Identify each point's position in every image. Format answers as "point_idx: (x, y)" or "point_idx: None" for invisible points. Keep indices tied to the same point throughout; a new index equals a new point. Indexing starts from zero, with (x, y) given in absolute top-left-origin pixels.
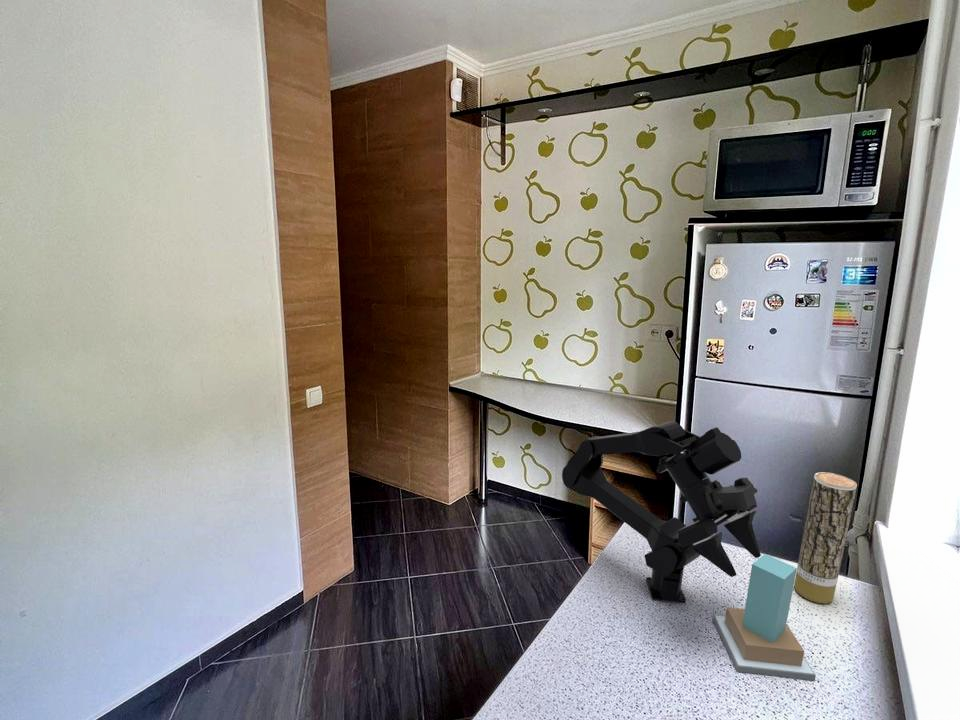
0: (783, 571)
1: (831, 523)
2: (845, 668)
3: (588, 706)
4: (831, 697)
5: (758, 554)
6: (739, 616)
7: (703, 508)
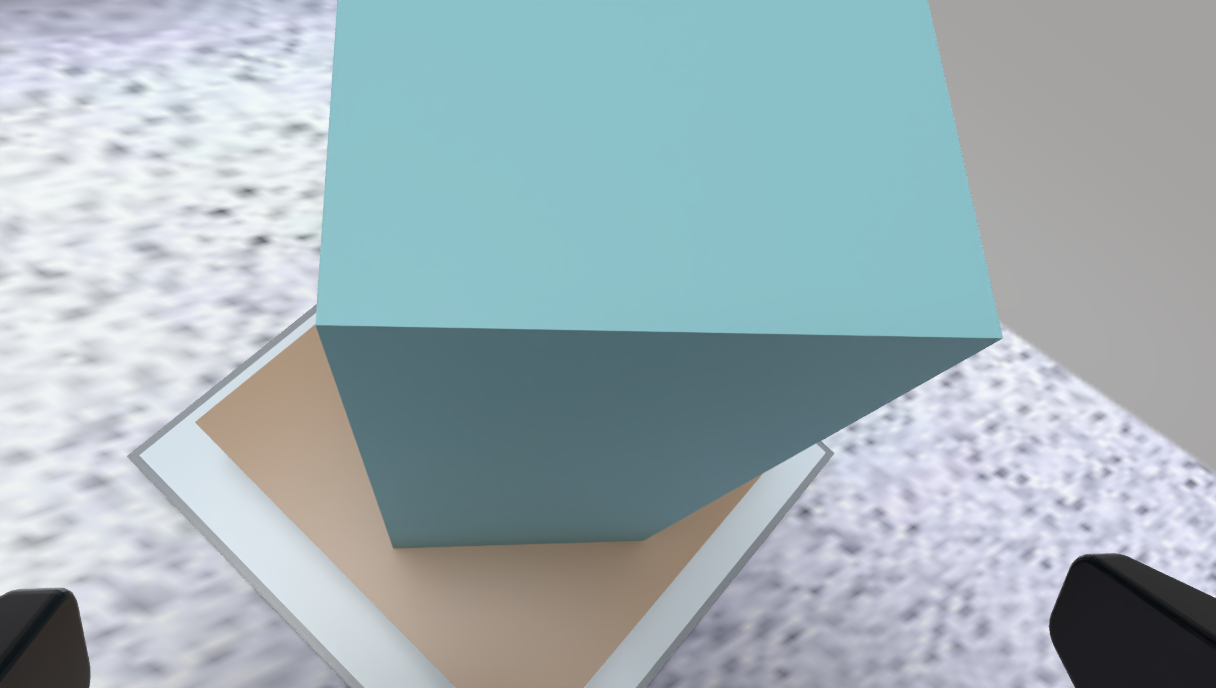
0: None
1: None
2: (249, 89)
3: None
4: None
5: (59, 621)
6: (551, 613)
7: None
